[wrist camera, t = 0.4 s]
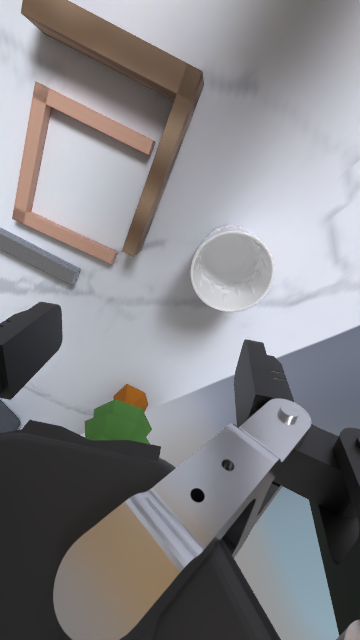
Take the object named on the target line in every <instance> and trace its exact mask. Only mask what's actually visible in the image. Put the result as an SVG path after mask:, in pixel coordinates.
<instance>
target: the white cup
mask: <svg viewBox="0 0 360 640" xmlns="http://www.w3.org/2000/svg"><path fill="white" fill-rule="evenodd" d="M190 276H191V282H192V286H193V288H194V291H195V292H196V294H197V295H198V297H199V298H200V299H201V300H202V301H203V302H204V303H205V304H207V305H208V306H210V307H211V308H213V309H216V310H219V311H223V312H238V311H243V310H246V309H248V308H250V307H252V306H254V305H256V304H257V303H258V302H259V301H261V300H262V299H263V298H264V297H265V295H266V294H267V293H268V291H269V289H270V287H271V285H272V282H273V279H274V261H273V258H272V255H271V253H270V251H269V249H268V248H267V246H266V245H265V244H264V243H263V242H262V241H261V240H260V239H258V238H257V237H256V236H254V235H253V234H252V233H250V232H249V231H247V230H245V229H243V228H240V227H238V226H230V225H225V226H222V227H220V228H217V229H214V230H213V231H212V232H211V233H210V234H209V235H208V236H207V237H206V238H205V239H204V240H203V242H202V243H201V245H200V247H199V248H198V250H197V252H196V254H195V256H194V258H193V261H192V264H191V271H190Z"/></svg>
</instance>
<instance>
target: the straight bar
mask: <svg viewBox="0 0 360 640" xmlns="http://www.w3.org/2000/svg"><path fill="white" fill-rule="evenodd" d="M0 249H1V250H3V251H5V252H7V253H9V254H11V255H13V256H15V257H17V258H19V259H21V260H23V261H25V262H27V263H29V264H31V265H33V266H35V267H37V268H39V269H41V270H43V271H45V272H47V273H49V274H51V275H52V276H54V277H56V278H58V279H60V280H62V281H64V282H66V283H68V284H70V285H72V284H73V283H75V282H76V281H77V278H78V276H79V273H80V270H81V269H80V268H78V267H76V266H74V265H72V264H70V263H68V262H66V261H64V260H62V259H60V258H59V257H57V256H55V255H53V254H51V253H49V252H47V251H45V250H43V249H41V248H39V247H37V246H35V245H33V244H31V243H29V242H28V241H26V240H24V239H22V238H20V237H18V236H16V235H14V234H12V233H10V232H8V231H6V230H4V229H2V228H0Z"/></svg>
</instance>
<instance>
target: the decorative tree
mask: <svg viewBox="0 0 360 640" xmlns="http://www.w3.org/2000/svg"><path fill="white" fill-rule="evenodd" d="M147 405H148V402H147V398H146V395H145V393H144V392H142V391H140V390H138V389H136V388H134V387H132V386H130V385H128V384H126V385H125V386H124V387H123V388H122V389H121V390H120V391H119V392H118V393H117V394H116V395H115V396H114V400H113V401H111V402H109V403H107V404H104V405H102V406H100V407H98V408H96V409H94V418H92V419H90V420H87V421H85V436H86V437H85V438H87V439H89V440H131V441H136V442H141V443H145V444H150V443H149V442H148V440H147V438H146V436H147V435H148V433H150V431H151V430H152V428H151V426H150V424H149V422H148V420H147V418H146V416H145V414H144V412H145V410H146V407H147Z"/></svg>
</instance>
